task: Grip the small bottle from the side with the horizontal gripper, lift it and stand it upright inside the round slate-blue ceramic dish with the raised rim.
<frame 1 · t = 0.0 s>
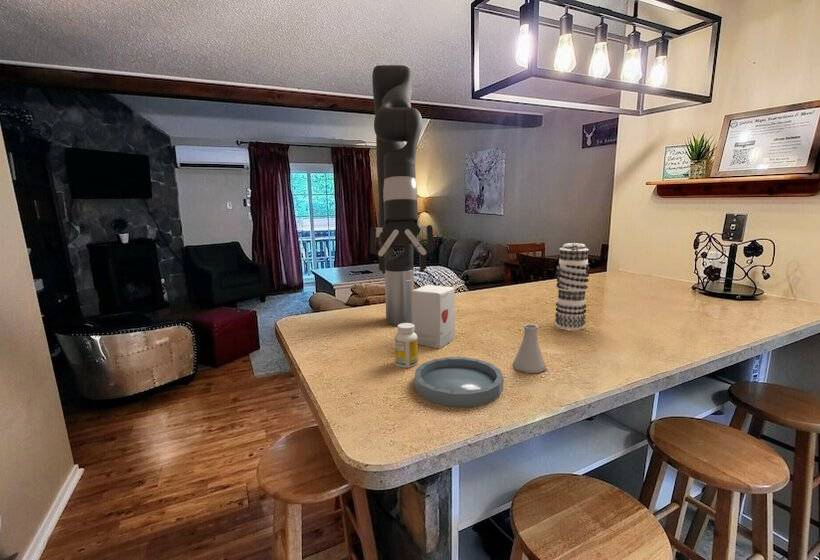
hand: (402, 272, 89), 22 cm above the counter, tool pointing down, fingers open, 8 cm apart
dish: (458, 385, 83), on the counter
decorative candle: (569, 326, 121), on the counter
supplement bottle: (406, 364, 95), on the counter
flask: (529, 368, 92), on the counter
supplement box: (433, 342, 110), on the counter
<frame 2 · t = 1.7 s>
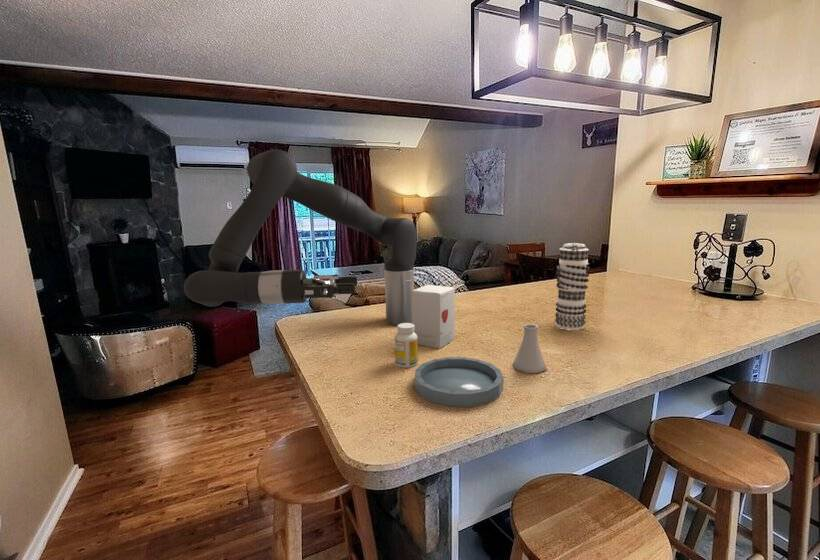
hand: (356, 284, 91), 20 cm above the counter, tool horizontal, fingers open, 8 cm apart
nothing on the counter moved.
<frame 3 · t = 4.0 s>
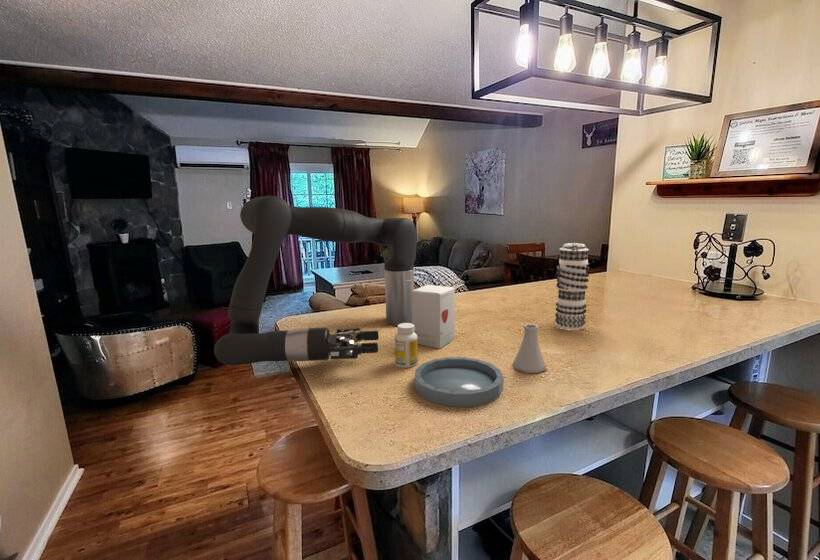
hand: (378, 341, 94), 6 cm above the counter, tool horizontal, fingers open, 8 cm apart
nothing on the counter moved.
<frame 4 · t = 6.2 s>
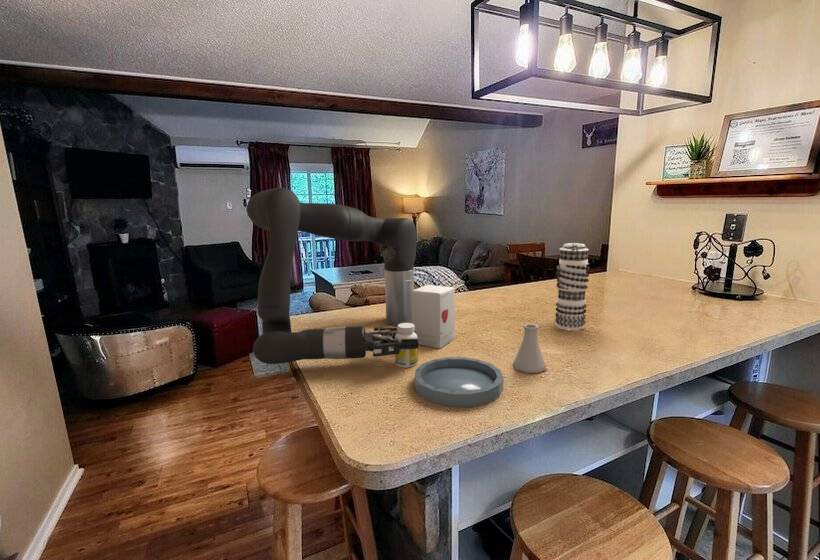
hand: (416, 339, 94), 6 cm above the counter, tool horizontal, fingers closed on supplement bottle, 5 cm apart
supplement bottle: (406, 364, 95), on the counter, touching gripper
everything else where it was.
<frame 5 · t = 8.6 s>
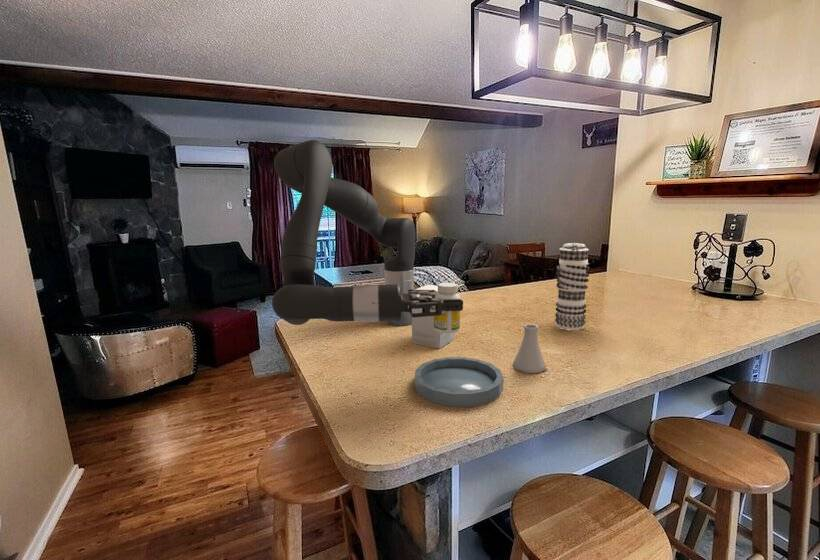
hand: (459, 301, 81), 18 cm above the counter, tool horizontal, fingers closed on supplement bottle, 5 cm apart
supplement bottle: (446, 330, 82), point 12 cm above the counter, touching gripper
everything else where it was.
when the fingers open (8 cm above the counter, at t = 11.1 s): supplement bottle drops 1 cm, resting on dish.
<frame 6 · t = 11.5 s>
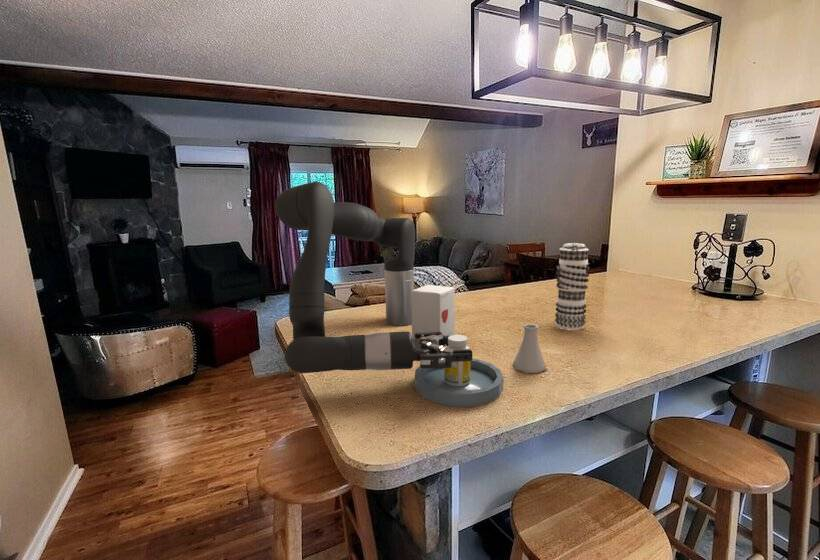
hand: (467, 347, 82), 8 cm above the counter, tool horizontal, fingers open, 8 cm apart
supplement bottle: (457, 382, 83), point 1 cm above the counter, touching dish
everything else where it was.
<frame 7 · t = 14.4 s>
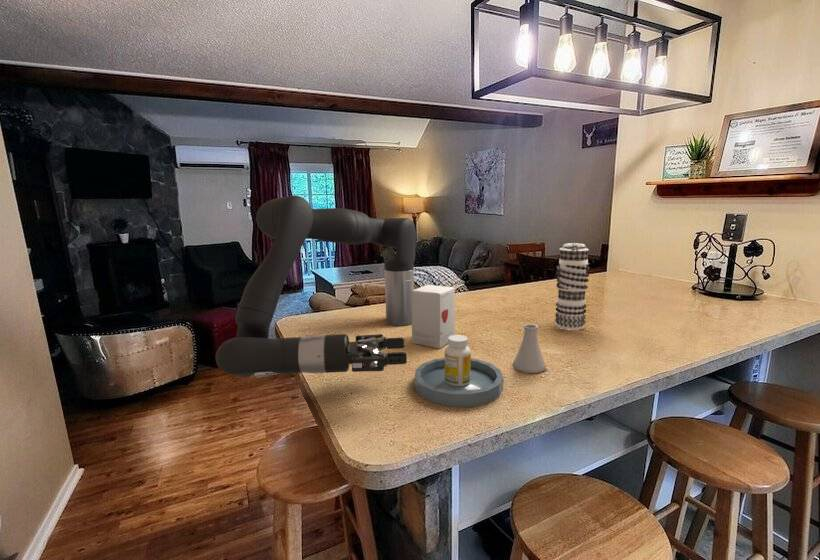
hand: (405, 349, 81), 8 cm above the counter, tool horizontal, fingers open, 8 cm apart
nothing on the counter moved.
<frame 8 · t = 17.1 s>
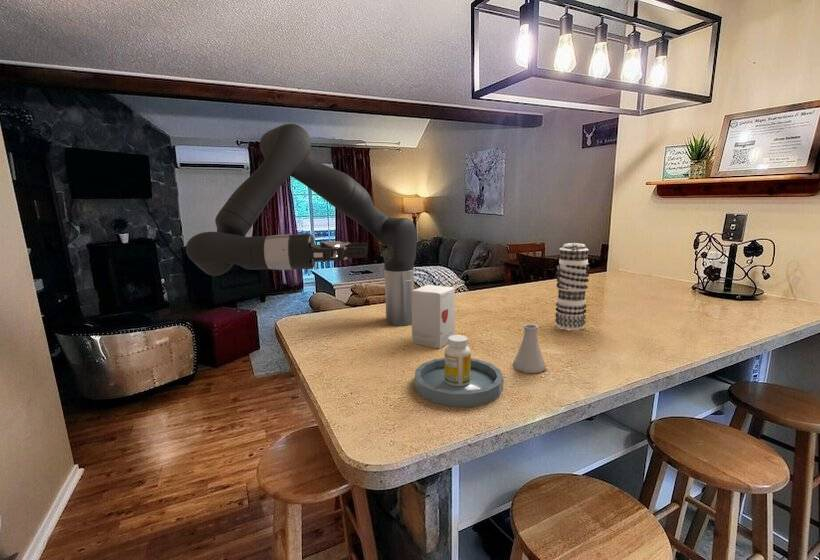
hand: (366, 249, 86), 28 cm above the counter, tool horizontal, fingers open, 8 cm apart
nothing on the counter moved.
at the end: supplement bottle inside the target area on the dish (0.1 cm from its centre), point 0.6 cm above the dish's base; supplement bottle tilted 0°; the gripper is holding nothing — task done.
